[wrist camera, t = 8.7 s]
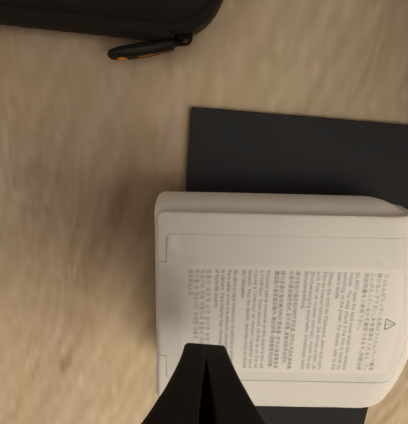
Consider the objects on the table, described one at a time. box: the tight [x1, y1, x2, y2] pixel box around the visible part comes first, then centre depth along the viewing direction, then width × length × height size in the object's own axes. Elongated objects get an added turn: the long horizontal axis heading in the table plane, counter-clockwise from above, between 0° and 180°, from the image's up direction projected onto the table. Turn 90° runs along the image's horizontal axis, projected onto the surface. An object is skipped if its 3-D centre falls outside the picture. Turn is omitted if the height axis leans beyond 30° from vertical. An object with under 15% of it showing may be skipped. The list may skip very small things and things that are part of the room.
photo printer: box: [154, 191, 408, 408], centre depth 15 cm, size 10×4×12 cm
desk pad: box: [186, 107, 408, 424], centre depth 18 cm, size 12×20×1 cm, turn 175°
